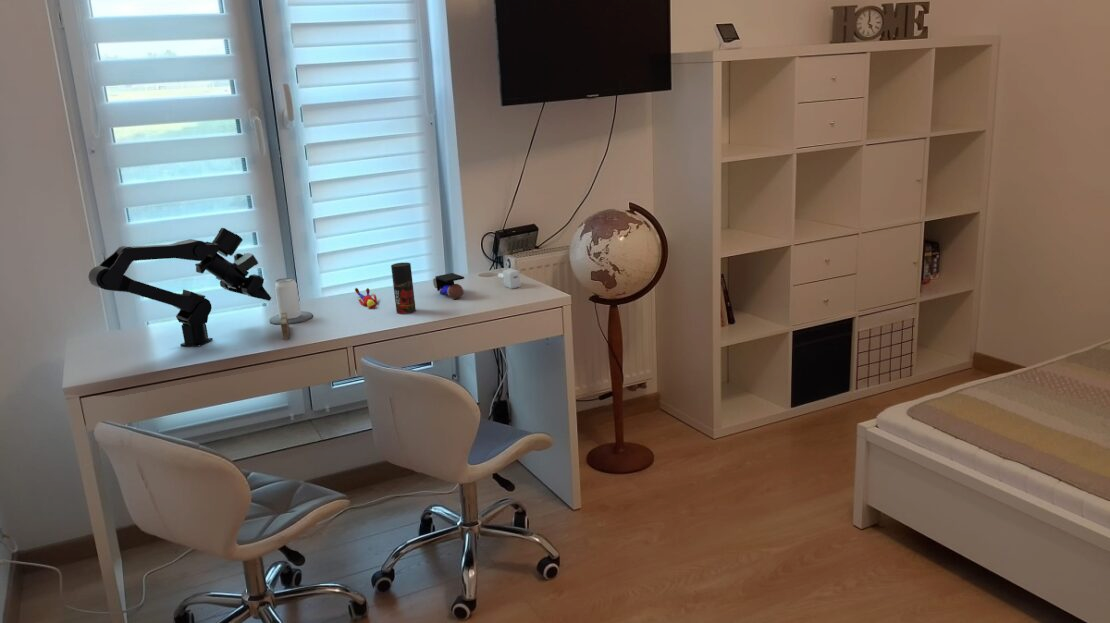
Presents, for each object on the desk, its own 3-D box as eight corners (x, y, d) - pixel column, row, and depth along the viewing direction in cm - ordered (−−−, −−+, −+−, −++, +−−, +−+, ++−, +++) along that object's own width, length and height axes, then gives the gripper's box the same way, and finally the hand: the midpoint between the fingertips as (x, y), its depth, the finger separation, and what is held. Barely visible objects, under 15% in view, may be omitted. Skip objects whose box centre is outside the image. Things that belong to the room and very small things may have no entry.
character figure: (368, 282, 289) (376, 293, 271) (373, 293, 290) (382, 305, 272) (353, 289, 288) (359, 301, 269) (358, 300, 289) (365, 313, 271)
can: (301, 318, 263) (296, 280, 260) (279, 321, 261) (274, 283, 258) (301, 313, 269) (295, 276, 266) (279, 316, 267) (274, 278, 264)
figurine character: (433, 297, 287) (449, 301, 274) (430, 275, 286) (445, 277, 272) (452, 294, 290) (468, 297, 277) (448, 272, 289) (465, 274, 275)
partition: (288, 338, 244) (286, 323, 242) (283, 339, 243) (280, 324, 242) (288, 326, 257) (286, 312, 256) (283, 327, 256) (281, 312, 255)
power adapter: (494, 284, 294) (493, 267, 292) (506, 281, 296) (505, 265, 295) (510, 289, 284) (508, 272, 283) (522, 287, 287) (521, 270, 285)
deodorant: (393, 313, 263) (387, 266, 259) (402, 308, 269) (396, 262, 265) (410, 314, 262) (405, 266, 258) (418, 309, 267) (413, 262, 263)
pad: (298, 324, 258) (298, 322, 258) (261, 324, 261) (260, 322, 261) (320, 313, 270) (320, 311, 270) (284, 313, 273) (283, 311, 273)
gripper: (252, 249, 244) (292, 278, 254) (223, 243, 256) (263, 272, 267) (230, 281, 240) (272, 310, 251) (202, 274, 253) (243, 301, 263)
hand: (263, 297), depth 258 cm, fingers open, 9 cm apart
